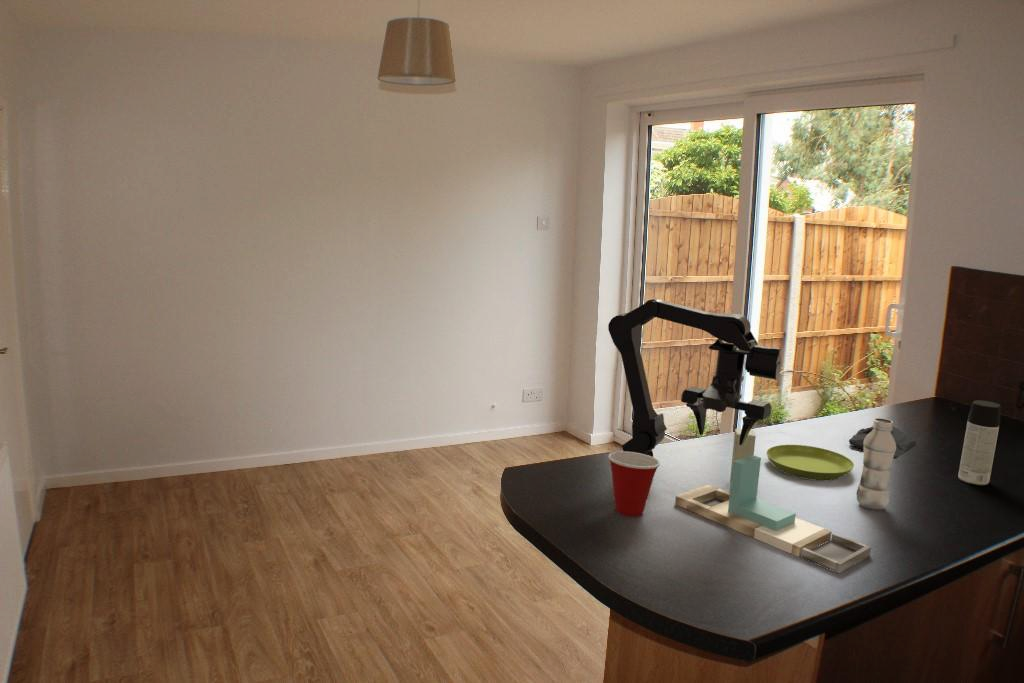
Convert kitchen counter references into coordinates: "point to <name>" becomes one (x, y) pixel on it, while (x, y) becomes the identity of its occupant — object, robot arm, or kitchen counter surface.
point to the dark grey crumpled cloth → (901, 440)
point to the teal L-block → (754, 497)
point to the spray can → (980, 442)
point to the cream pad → (786, 534)
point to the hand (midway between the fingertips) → (720, 439)
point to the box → (742, 446)
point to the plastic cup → (632, 480)
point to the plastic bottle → (877, 466)
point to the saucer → (809, 462)
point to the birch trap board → (715, 507)
